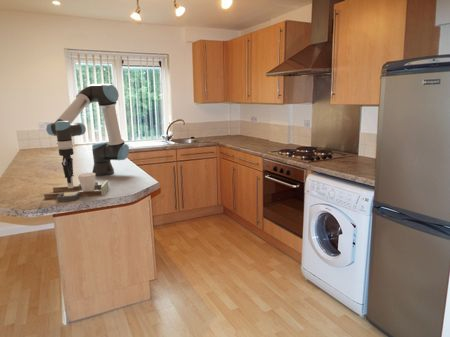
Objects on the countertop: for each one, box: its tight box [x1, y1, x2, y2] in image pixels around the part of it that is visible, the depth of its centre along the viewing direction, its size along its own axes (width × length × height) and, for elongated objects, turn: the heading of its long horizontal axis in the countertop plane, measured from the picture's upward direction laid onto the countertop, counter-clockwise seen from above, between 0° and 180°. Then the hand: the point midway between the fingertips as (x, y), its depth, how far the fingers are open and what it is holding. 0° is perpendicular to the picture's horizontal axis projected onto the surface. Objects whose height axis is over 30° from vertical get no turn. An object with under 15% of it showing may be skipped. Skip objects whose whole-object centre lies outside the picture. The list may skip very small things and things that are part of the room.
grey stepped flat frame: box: [43, 184, 103, 200], centre depth 195 cm, size 15×31×2 cm, turn 99°
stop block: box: [100, 179, 110, 196], centre depth 197 cm, size 15×1×5 cm, turn 9°
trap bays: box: [56, 181, 99, 203], centre depth 195 cm, size 30×15×2 cm, turn 9°
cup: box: [77, 172, 96, 192], centre depth 195 cm, size 10×10×11 cm
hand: (70, 187), depth 194 cm, fingers closed
